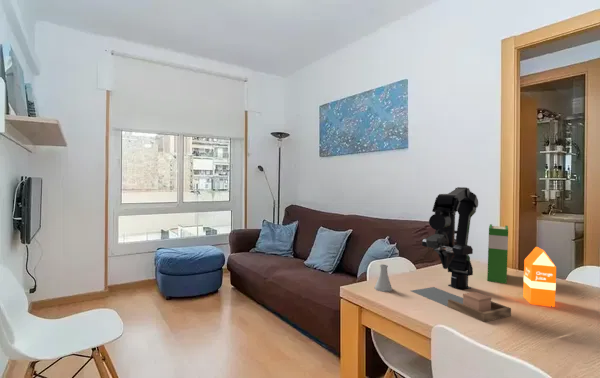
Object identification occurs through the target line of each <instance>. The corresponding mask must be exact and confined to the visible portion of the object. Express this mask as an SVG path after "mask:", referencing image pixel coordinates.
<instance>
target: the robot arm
mask: <svg viewBox="0 0 600 378" xmlns="http://www.w3.org/2000/svg"><path fill="white" fill-rule="evenodd" d="M478 206H479V199H478V196H477V195H476V194H475V193H474V192H472V191H471V189H470V188H469V187H465V186H464V187H463V186H461V187H459V186H458V187H455V188H454V189H453V190H451V191H450V192H449V193H439V194H438V195H437V196H436V198H435V200H434V204H433V207H432V212H433V214H432V215H431V216H430V217H429V219H428V224H429V226H430V228H432V229H433V230H435V231H434V234H432V235H430V236H427V238H423V239H422V241H421V247H422V246H423V247H427V248H431V249H432V250H433V251H435V252H436V254H437V255H438V256H439V260H440V262H441V266H442V268H443V269H444V270H447V272H448V273H451V276H450V284H447V286H448V287H450V288H453V289H456V290H459V291H464V290H470V289H472V287H471V286H469V276H473V275H474V274H473V272H474V268H473V265H472V262H471V258H470V257H471V256H470V255H473V250H474V249H473V247H472V246H471V245H468V243H469V234H470V227H471V218H472V217H473V216H474V215H475V214H476V212H477V208H478ZM456 213H458V220H457V228H456ZM456 229H457V230H456ZM455 234H456V235H455Z"/></svg>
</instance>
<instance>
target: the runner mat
mask: <svg viewBox="0 0 600 378" xmlns="http://www.w3.org/2000/svg"><path fill="white" fill-rule="evenodd" d="M410 292H412V293H414V294H416V295H419V296H421V297H423V298H426V299H428V300H431V301H433V302H435V303H438V304H440V305H442V306H445V307H447V308H449V307H448V300H449V299H451V300H453V301H456V302H459V303H461V304H463V296H462V297H461V296H459V295H456V294H453V293H451V292H448V291H445V290H444V289H440V288H438V287H435V286H432V287H425V288H417V289H412V290H411V289H410ZM481 322H483V321H481ZM483 323H484V322H483Z"/></svg>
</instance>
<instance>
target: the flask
mask: <svg viewBox="0 0 600 378" xmlns="http://www.w3.org/2000/svg"><path fill="white" fill-rule="evenodd" d="M379 267H380V268H379V269H380V270H379V275H378V277H377V280H376V283H375V285H374V289H375V290H376V291H377V292H378V291H379V292H384V293H385V292H392V290H393V287H392V284H391V281H390V279H389V275H388V264H384V263H383V264H382V263H381V264H379Z"/></svg>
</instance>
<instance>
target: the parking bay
mask: <svg viewBox="0 0 600 378" xmlns="http://www.w3.org/2000/svg"><path fill="white" fill-rule="evenodd" d="M447 308H449V309H451V310H454V311H457V312H460V313H461V314H464V315H466V316H469V317H471V318H474V319H476V320H479V322H482V321H483V323H487V322H490V321H495V320H498V319H499V320H500V319H503V318H507V317H511V316H512V308H511V307H509V306H505V305H503V304H500V303H497V302H495V301H492V300H491V311H487V312H481V311H479V310H476V309H474V308H471V307H469V306H466V305H464V304H461V303H459V302H456V301H453V300H451V299H449V300H448V307H447Z"/></svg>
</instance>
